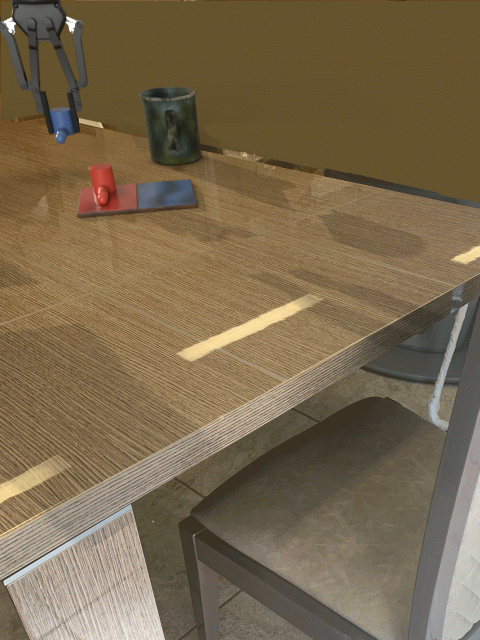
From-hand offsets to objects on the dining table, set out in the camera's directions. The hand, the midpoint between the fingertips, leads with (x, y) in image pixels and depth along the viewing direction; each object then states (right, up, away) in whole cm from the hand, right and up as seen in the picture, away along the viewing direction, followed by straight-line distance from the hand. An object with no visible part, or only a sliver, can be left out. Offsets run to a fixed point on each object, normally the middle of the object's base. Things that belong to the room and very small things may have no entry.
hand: (64, 131), depth 116 cm
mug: (+18, -1, +11) cm, 21 cm away
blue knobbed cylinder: (+1, -2, -2) cm, 3 cm away
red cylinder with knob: (+10, -15, -8) cm, 20 cm away
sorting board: (+15, -15, -7) cm, 22 cm away
